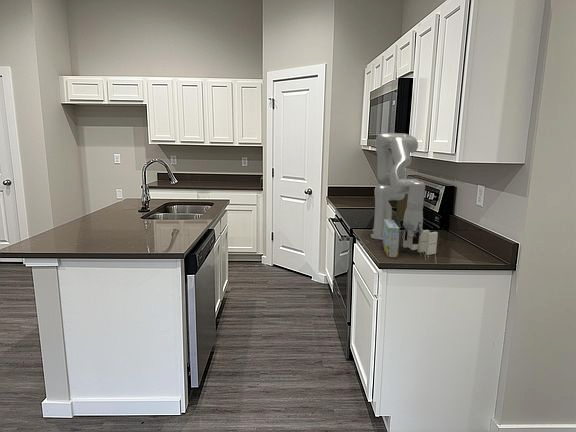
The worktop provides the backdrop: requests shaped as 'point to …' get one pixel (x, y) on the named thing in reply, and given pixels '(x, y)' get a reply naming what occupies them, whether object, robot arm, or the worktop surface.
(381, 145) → the robot arm
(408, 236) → the domino
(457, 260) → the worktop surface
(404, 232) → the domino
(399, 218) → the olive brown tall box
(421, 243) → the domino
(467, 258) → the worktop surface
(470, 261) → the worktop surface
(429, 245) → the domino
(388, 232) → the snack box
